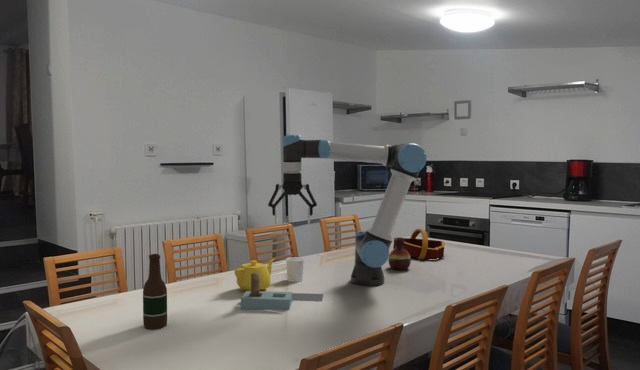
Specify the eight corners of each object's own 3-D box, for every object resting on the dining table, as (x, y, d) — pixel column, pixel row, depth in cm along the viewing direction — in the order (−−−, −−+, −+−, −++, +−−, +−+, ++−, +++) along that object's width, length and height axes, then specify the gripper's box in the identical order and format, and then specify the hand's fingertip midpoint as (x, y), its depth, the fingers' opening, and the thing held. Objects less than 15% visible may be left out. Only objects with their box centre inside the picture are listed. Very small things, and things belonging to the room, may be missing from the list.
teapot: (283, 288, 215) (283, 260, 214) (244, 297, 202) (244, 267, 201) (265, 282, 225) (265, 254, 224) (226, 290, 212) (225, 261, 211)
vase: (385, 269, 252) (386, 239, 251) (391, 265, 262) (391, 235, 261) (407, 272, 248) (408, 240, 246) (412, 267, 258) (413, 237, 257)
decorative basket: (448, 266, 273) (453, 238, 272) (394, 256, 274) (399, 229, 273) (436, 254, 306) (441, 229, 306) (388, 245, 307) (393, 221, 307)
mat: (323, 294, 207) (323, 293, 207) (322, 302, 197) (322, 301, 197) (289, 293, 208) (289, 293, 208) (286, 301, 198) (286, 300, 198)
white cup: (301, 283, 224) (301, 261, 223) (284, 282, 225) (284, 260, 225) (305, 279, 232) (305, 257, 231) (288, 278, 233) (288, 256, 232)
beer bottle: (146, 322, 172) (145, 252, 171) (169, 321, 173) (169, 252, 171) (140, 330, 164) (139, 257, 163) (164, 329, 165) (164, 257, 163)
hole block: (292, 302, 197) (292, 292, 196) (289, 310, 187) (289, 299, 186) (246, 301, 197) (246, 290, 197) (240, 309, 188) (240, 298, 187)
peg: (260, 304, 193) (261, 273, 192) (256, 307, 190) (256, 275, 189) (253, 303, 194) (253, 272, 193) (249, 305, 191) (249, 274, 190)
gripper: (322, 172, 214) (322, 222, 215) (263, 172, 214) (264, 221, 216) (322, 172, 206) (322, 224, 208) (261, 172, 207) (261, 224, 208)
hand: (292, 223), depth 212 cm, fingers open, 13 cm apart
